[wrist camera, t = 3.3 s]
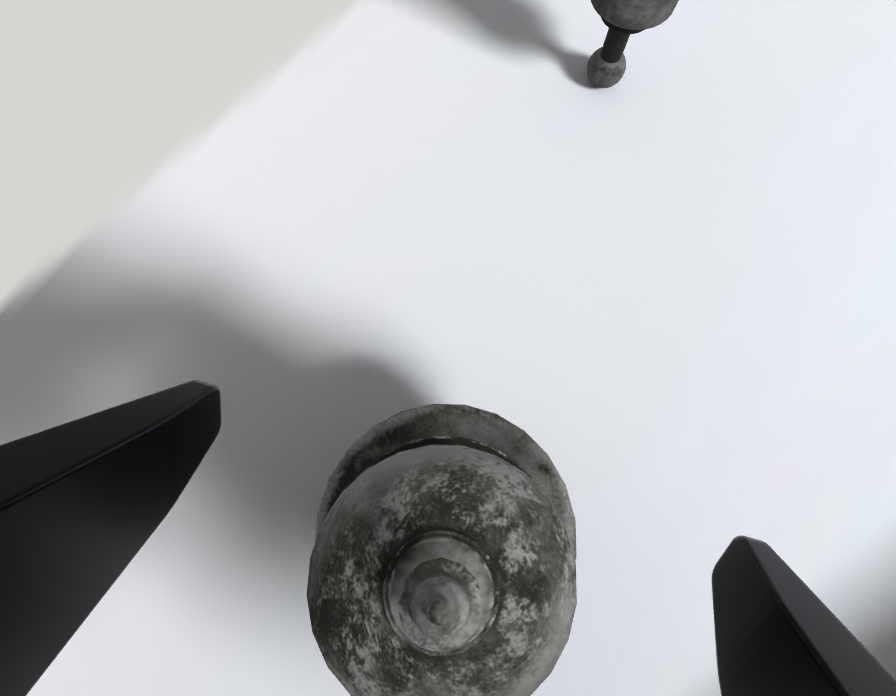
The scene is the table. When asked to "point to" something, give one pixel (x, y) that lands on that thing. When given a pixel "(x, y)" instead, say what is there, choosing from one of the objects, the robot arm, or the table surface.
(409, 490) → the grey rounded piece
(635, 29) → the microphone
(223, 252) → the table surface
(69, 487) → the robot arm
